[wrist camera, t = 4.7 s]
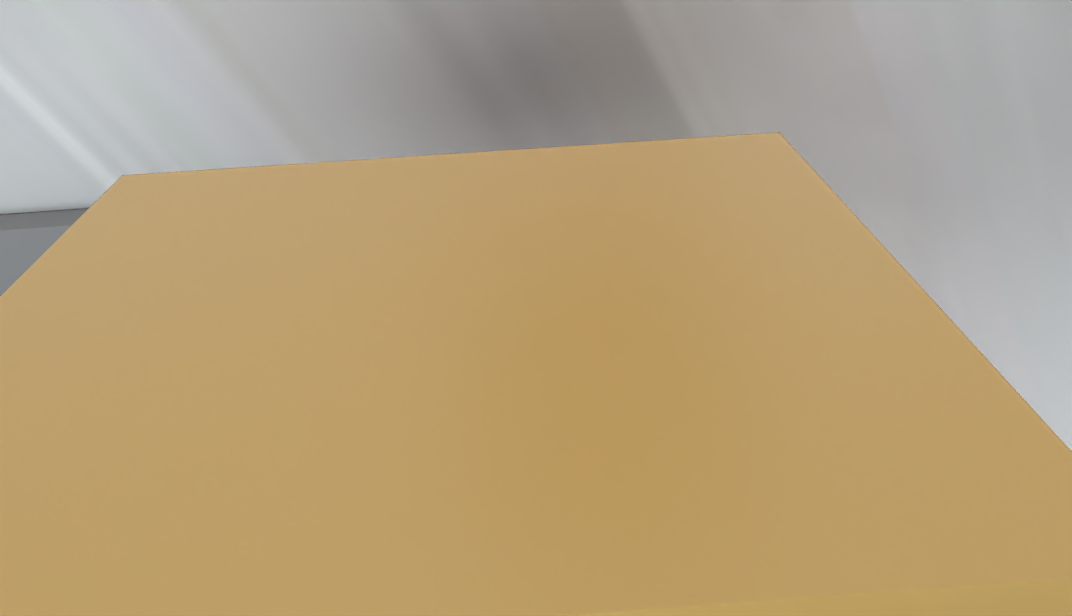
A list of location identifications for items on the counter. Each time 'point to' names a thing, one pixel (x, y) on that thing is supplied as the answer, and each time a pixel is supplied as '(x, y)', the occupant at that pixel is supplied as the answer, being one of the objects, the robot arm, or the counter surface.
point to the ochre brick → (509, 400)
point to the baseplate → (29, 240)
